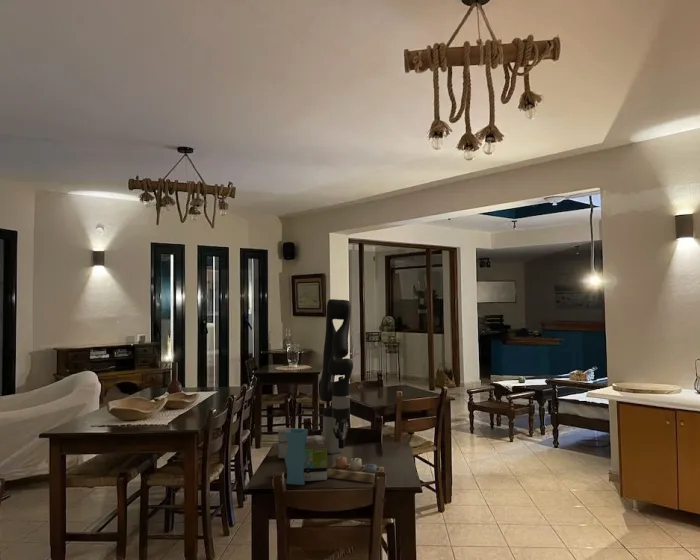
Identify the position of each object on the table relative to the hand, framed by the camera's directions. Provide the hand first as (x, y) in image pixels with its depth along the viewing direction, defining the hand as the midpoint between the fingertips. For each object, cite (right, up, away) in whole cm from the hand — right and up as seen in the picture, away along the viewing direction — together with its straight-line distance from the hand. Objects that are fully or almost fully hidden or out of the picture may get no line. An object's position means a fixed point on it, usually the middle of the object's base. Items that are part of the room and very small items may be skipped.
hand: (341, 448), depth 223 cm
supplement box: (-25, -12, +25) cm, 38 cm away
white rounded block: (+6, -8, -3) cm, 10 cm away
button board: (+6, -11, -3) cm, 13 cm away
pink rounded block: (0, -8, 0) cm, 8 cm away
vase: (-18, -11, -8) cm, 22 cm away
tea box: (-12, -11, -1) cm, 16 cm away
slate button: (+12, -10, -5) cm, 16 cm away
